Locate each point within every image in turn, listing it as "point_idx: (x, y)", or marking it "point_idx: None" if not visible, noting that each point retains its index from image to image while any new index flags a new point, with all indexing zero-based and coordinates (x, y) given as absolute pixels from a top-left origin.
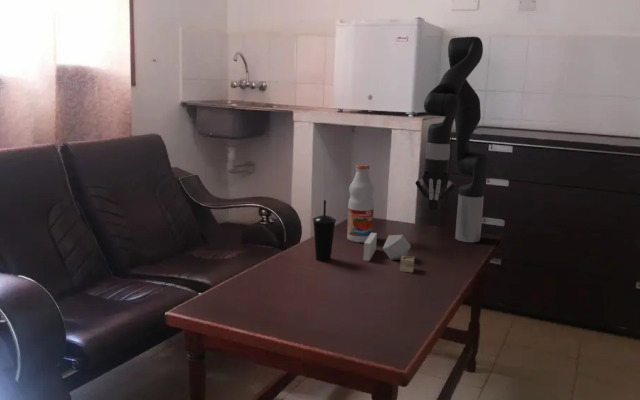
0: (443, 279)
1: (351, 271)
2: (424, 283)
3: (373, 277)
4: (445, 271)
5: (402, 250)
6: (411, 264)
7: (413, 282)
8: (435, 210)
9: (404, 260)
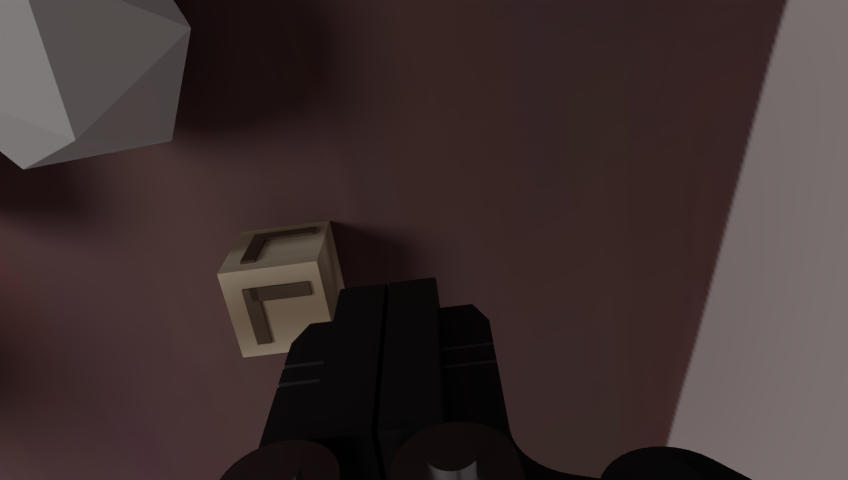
0: (558, 337)
1: (10, 426)
2: None
3: (170, 461)
4: (554, 182)
5: (159, 132)
6: None
7: None
8: (436, 283)
9: (272, 350)
